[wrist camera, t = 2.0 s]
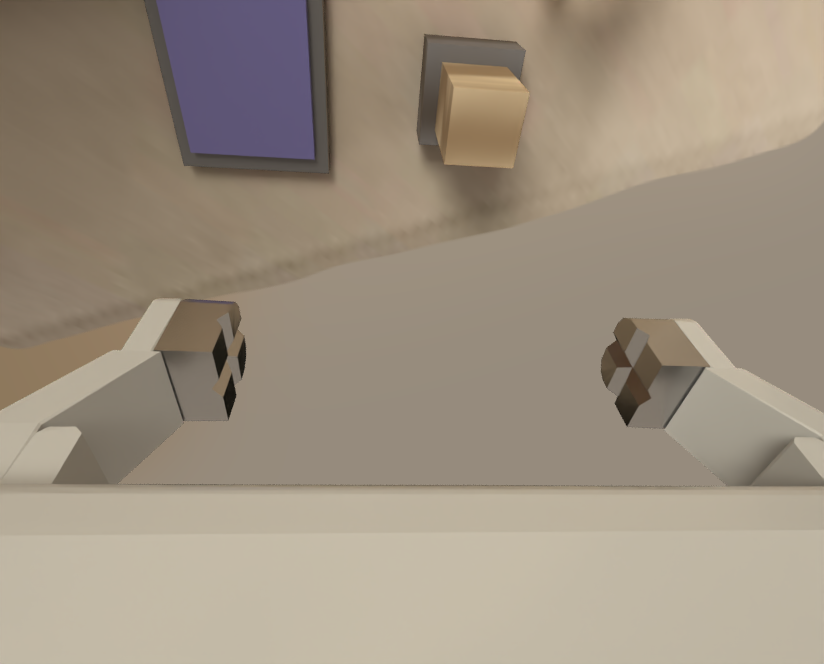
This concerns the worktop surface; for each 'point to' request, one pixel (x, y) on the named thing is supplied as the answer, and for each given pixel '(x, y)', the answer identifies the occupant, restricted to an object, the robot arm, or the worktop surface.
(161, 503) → the robot arm
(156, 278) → the worktop surface
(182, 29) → the ink pad
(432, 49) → the stamp
